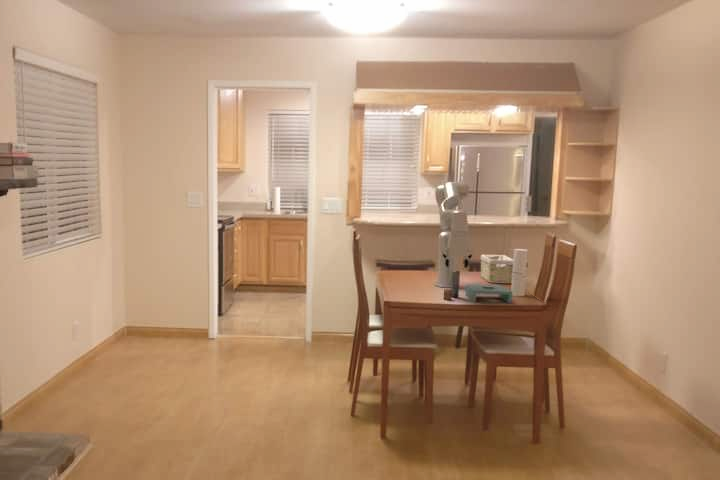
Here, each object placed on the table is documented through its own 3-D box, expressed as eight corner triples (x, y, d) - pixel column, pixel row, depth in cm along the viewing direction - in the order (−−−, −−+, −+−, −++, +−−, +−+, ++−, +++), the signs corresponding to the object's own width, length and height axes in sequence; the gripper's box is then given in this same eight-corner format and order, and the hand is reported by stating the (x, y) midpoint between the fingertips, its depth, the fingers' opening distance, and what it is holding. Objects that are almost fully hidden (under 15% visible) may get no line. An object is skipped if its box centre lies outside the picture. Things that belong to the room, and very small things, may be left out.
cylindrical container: (509, 293, 311) (512, 248, 308) (521, 293, 311) (524, 248, 308) (513, 296, 304) (516, 250, 301) (526, 296, 304) (529, 250, 301)
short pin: (442, 298, 292) (443, 289, 291) (450, 298, 292) (450, 289, 291) (444, 300, 288) (444, 290, 287) (452, 300, 288) (452, 291, 287)
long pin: (450, 296, 298) (451, 270, 296) (457, 296, 298) (459, 270, 296) (451, 297, 294) (453, 271, 292) (459, 298, 294) (460, 271, 292)
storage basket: (478, 276, 360) (479, 253, 359) (503, 277, 361) (505, 254, 359) (487, 283, 337) (489, 259, 335) (514, 284, 337) (516, 260, 335)
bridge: (465, 295, 301) (466, 284, 300) (502, 296, 302) (503, 285, 301) (472, 302, 285) (473, 290, 284) (511, 303, 286) (512, 291, 285)
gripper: (472, 234, 296) (471, 266, 297) (440, 233, 295) (438, 265, 297) (476, 235, 288) (474, 268, 290) (443, 234, 287) (441, 267, 289)
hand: (456, 267), depth 293 cm, fingers open, 9 cm apart
